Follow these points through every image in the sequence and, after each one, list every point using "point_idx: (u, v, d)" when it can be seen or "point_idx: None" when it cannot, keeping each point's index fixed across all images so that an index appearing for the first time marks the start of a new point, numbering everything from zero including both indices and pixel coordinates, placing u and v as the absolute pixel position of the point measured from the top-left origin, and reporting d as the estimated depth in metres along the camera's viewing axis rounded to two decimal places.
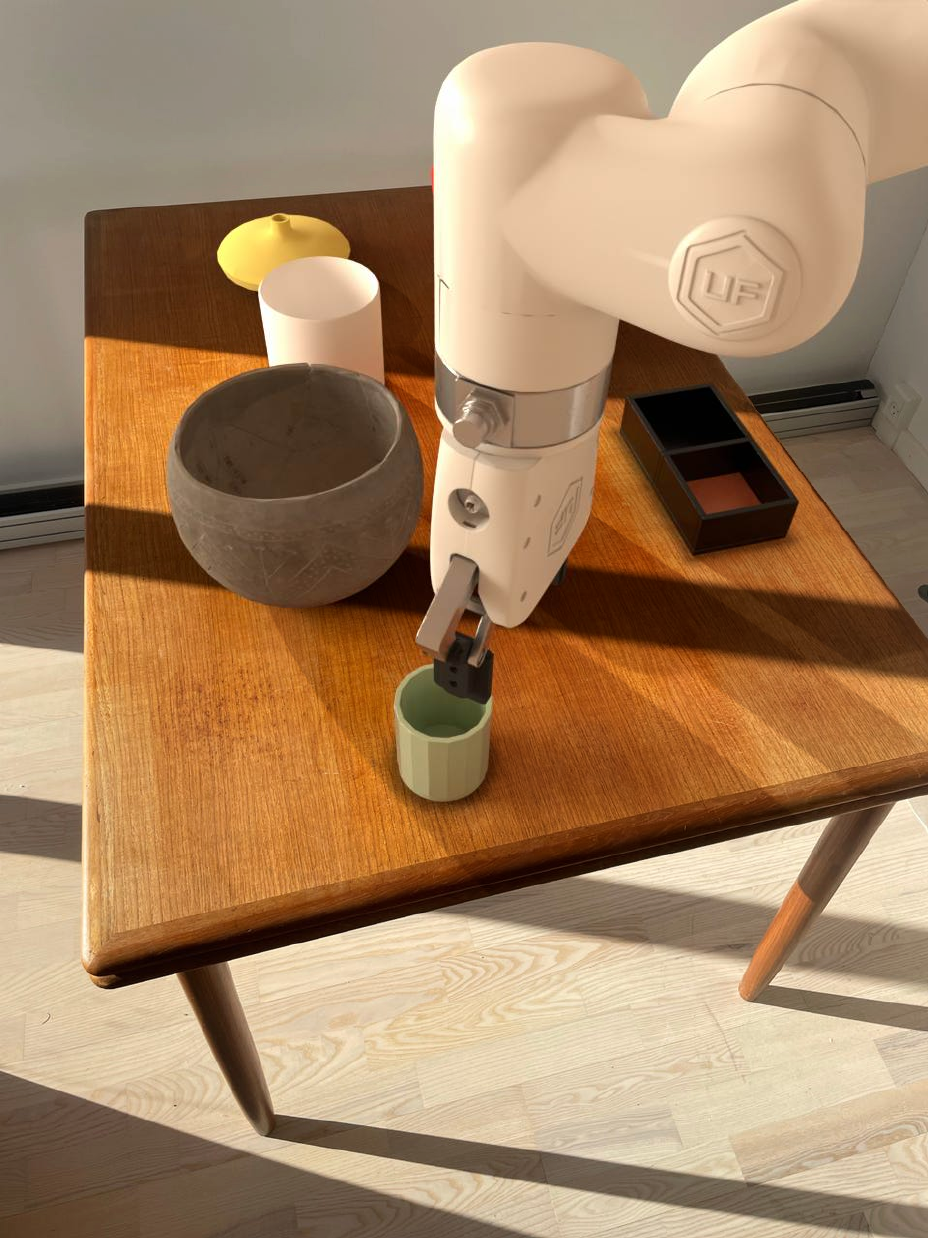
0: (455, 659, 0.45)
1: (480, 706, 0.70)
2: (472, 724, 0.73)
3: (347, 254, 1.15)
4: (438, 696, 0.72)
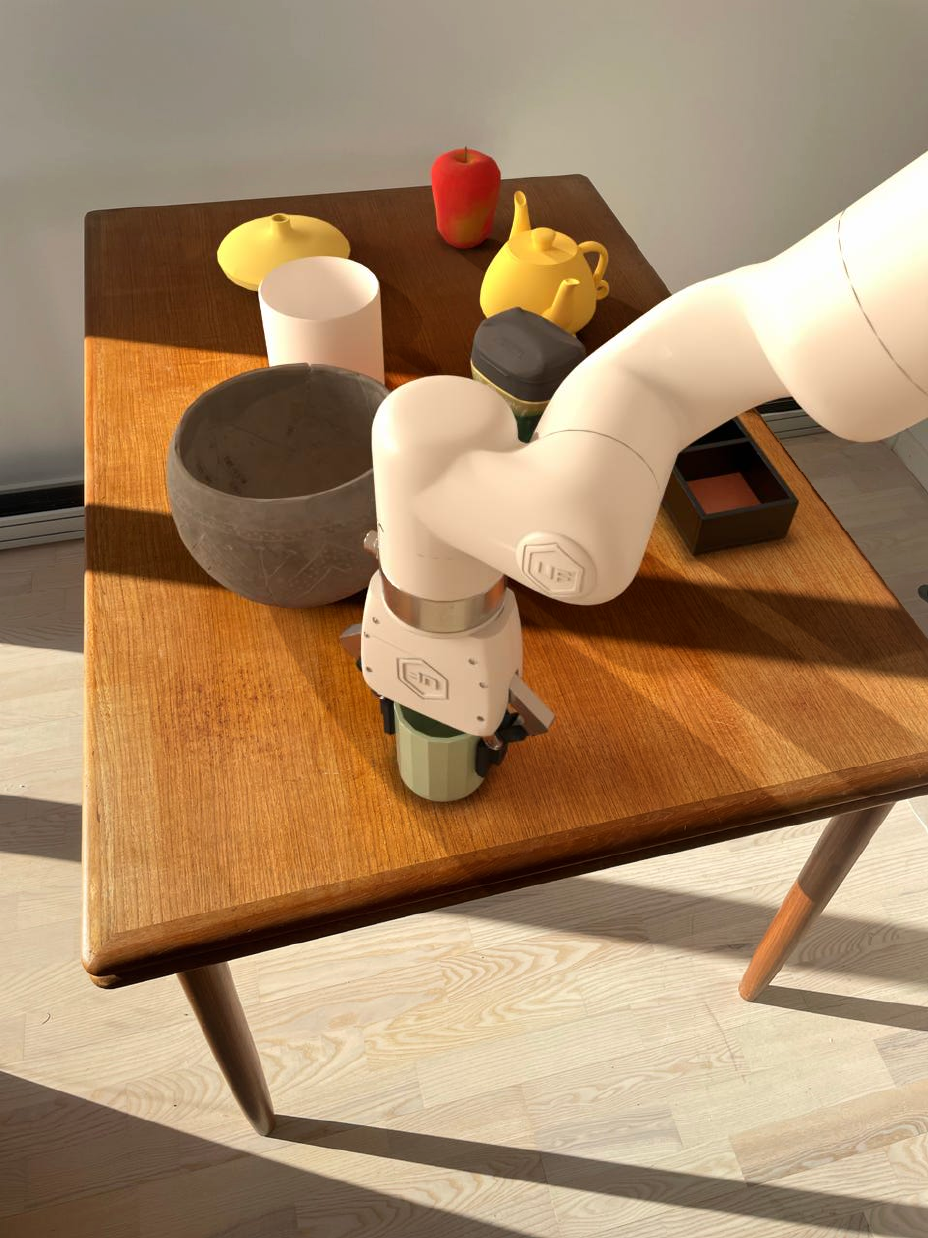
0: (357, 664, 0.68)
1: None
2: None
3: (347, 254, 1.15)
4: None
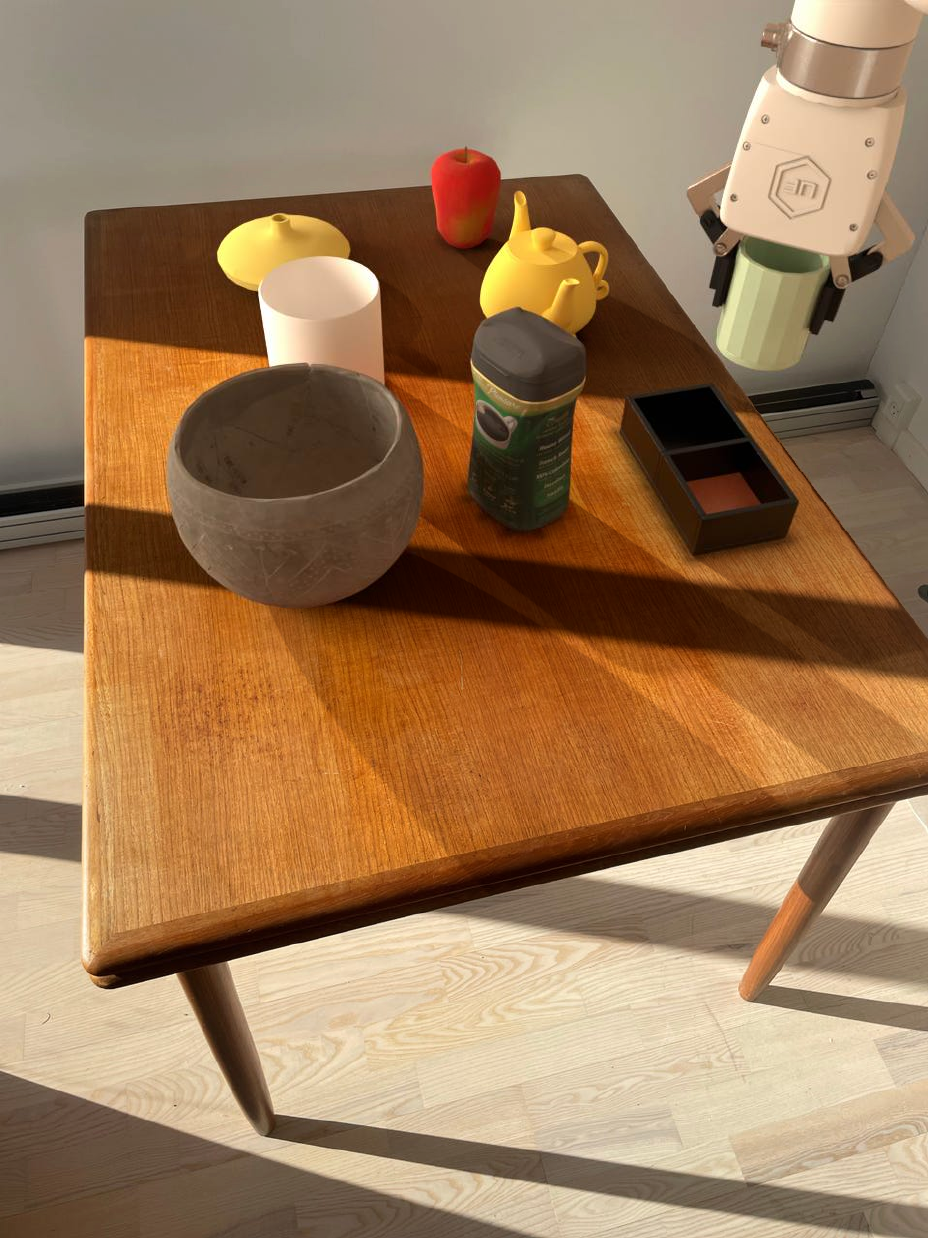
0: (702, 218, 0.71)
1: None
2: None
3: (347, 254, 1.15)
4: None
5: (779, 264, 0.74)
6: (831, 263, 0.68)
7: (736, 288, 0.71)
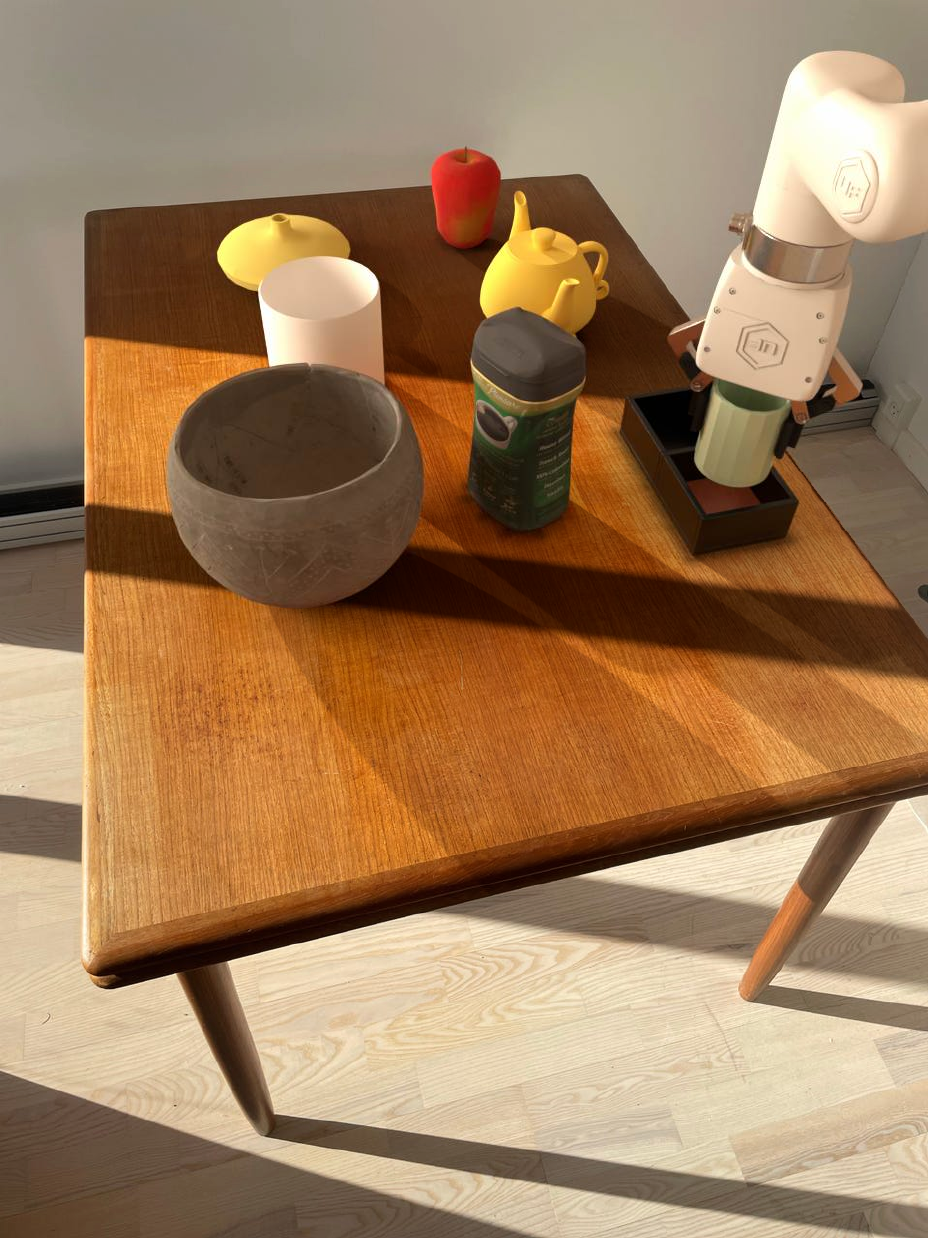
0: (681, 360, 0.81)
1: (773, 404, 0.84)
2: None
3: (347, 254, 1.15)
4: (733, 401, 0.86)
5: (749, 394, 0.85)
6: (791, 403, 0.79)
7: (710, 419, 0.82)
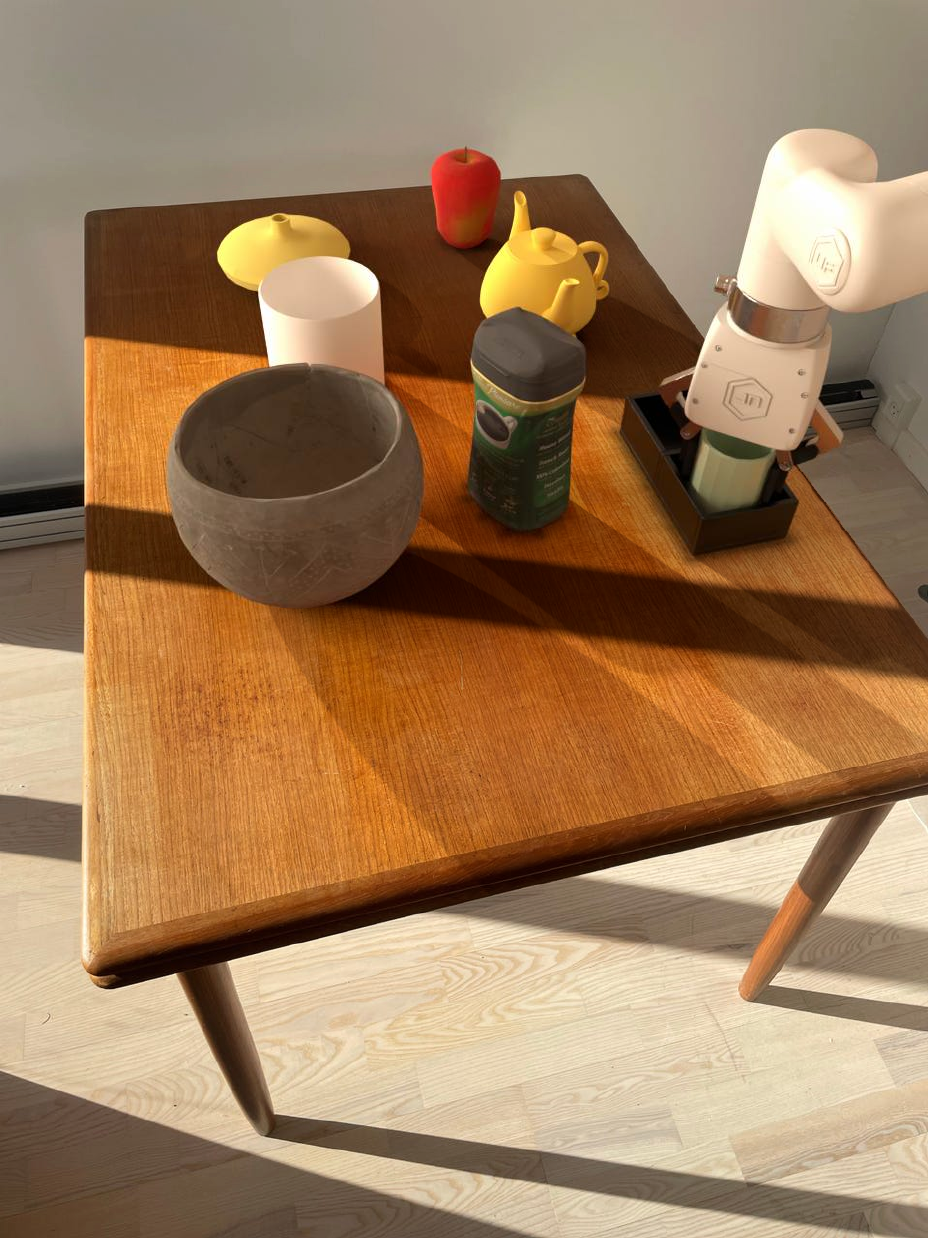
0: (671, 409, 0.85)
1: (760, 450, 0.88)
2: None
3: (347, 254, 1.15)
4: (721, 447, 0.89)
5: (737, 440, 0.89)
6: (776, 452, 0.82)
7: (699, 465, 0.86)
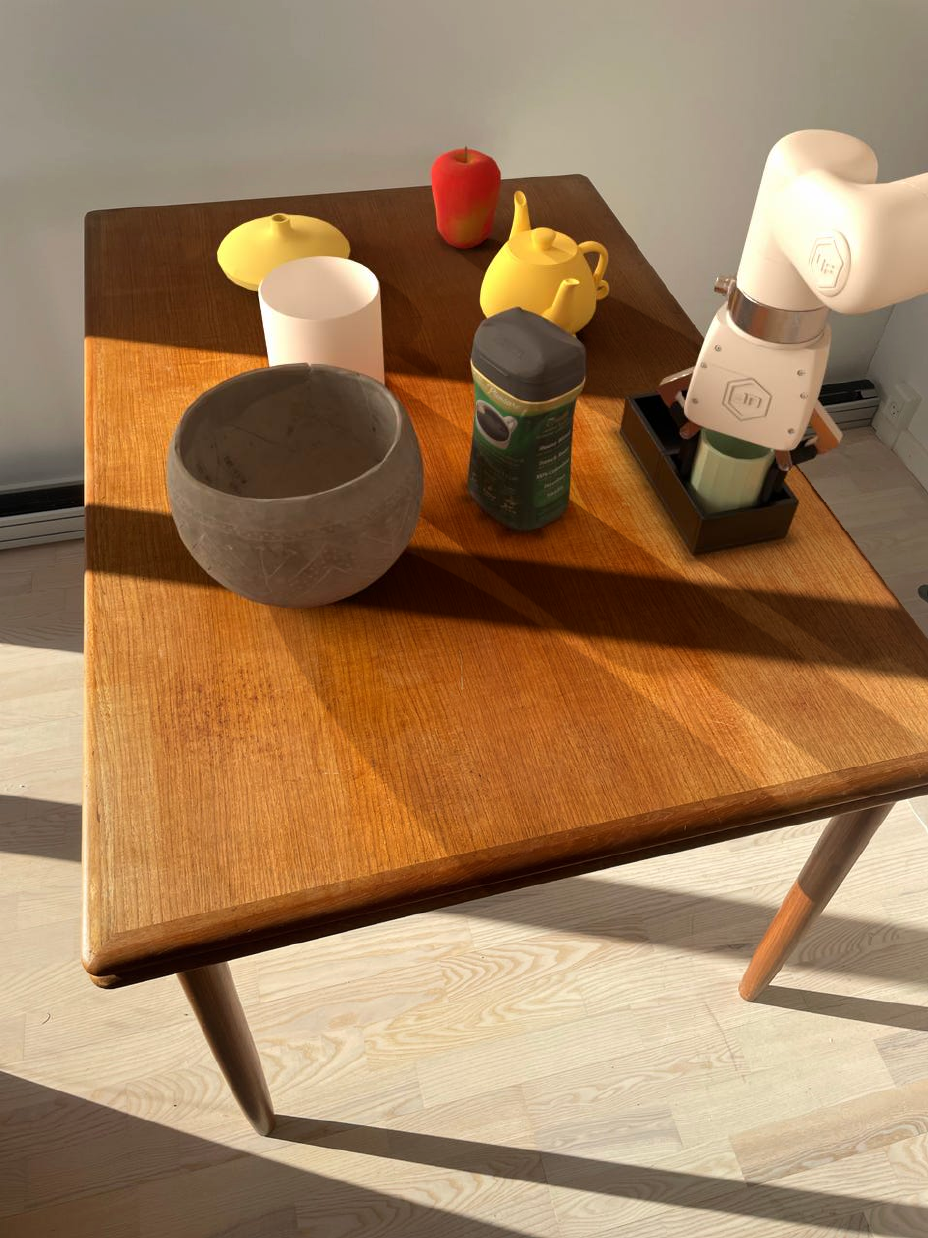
0: (671, 409, 0.85)
1: (759, 449, 0.88)
2: None
3: (347, 254, 1.15)
4: (720, 446, 0.89)
5: (736, 440, 0.89)
6: (775, 452, 0.83)
7: (699, 465, 0.86)
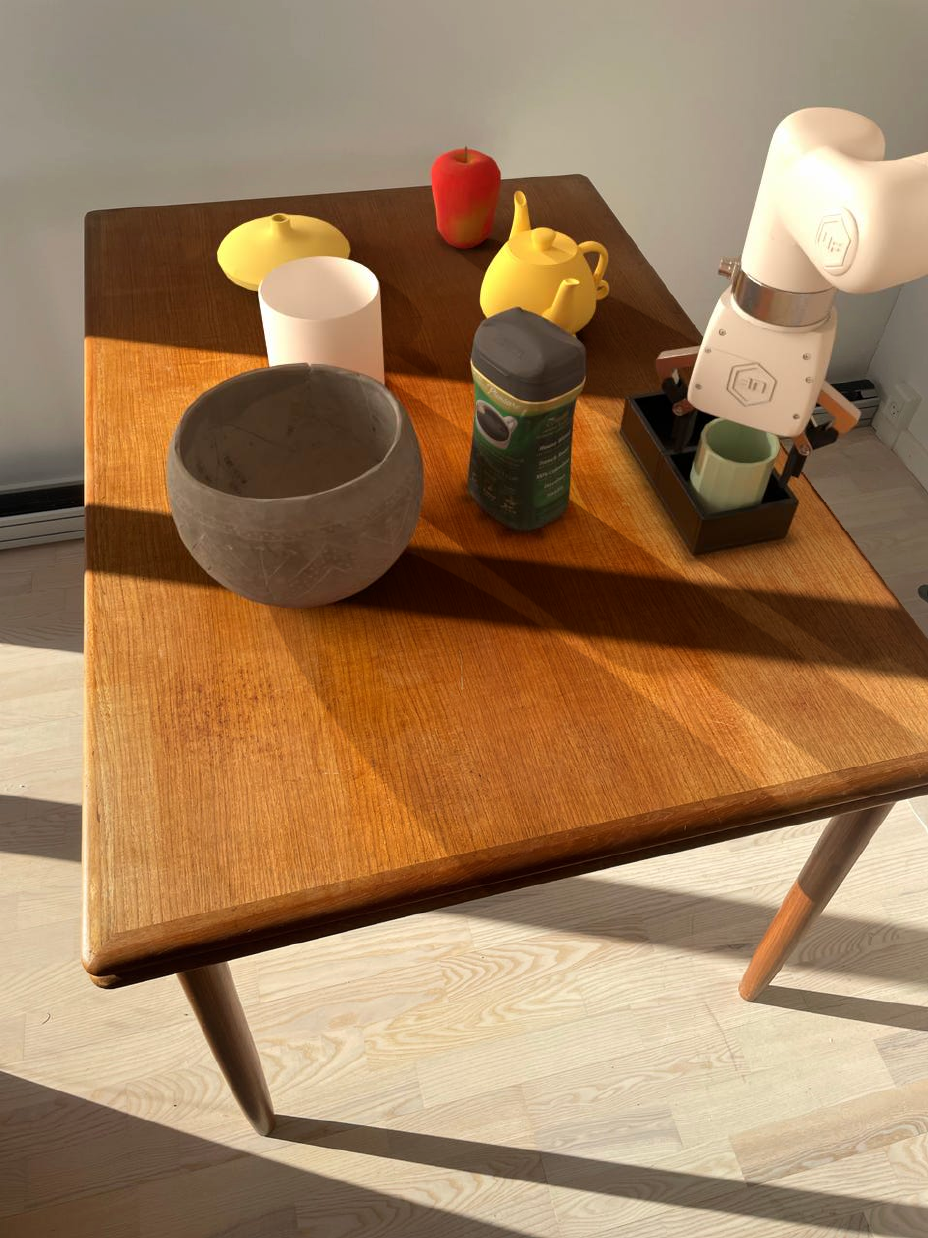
0: (663, 385, 0.84)
1: (759, 453, 0.88)
2: None
3: (347, 254, 1.15)
4: (720, 450, 0.90)
5: (736, 443, 0.89)
6: (792, 437, 0.81)
7: (699, 469, 0.86)
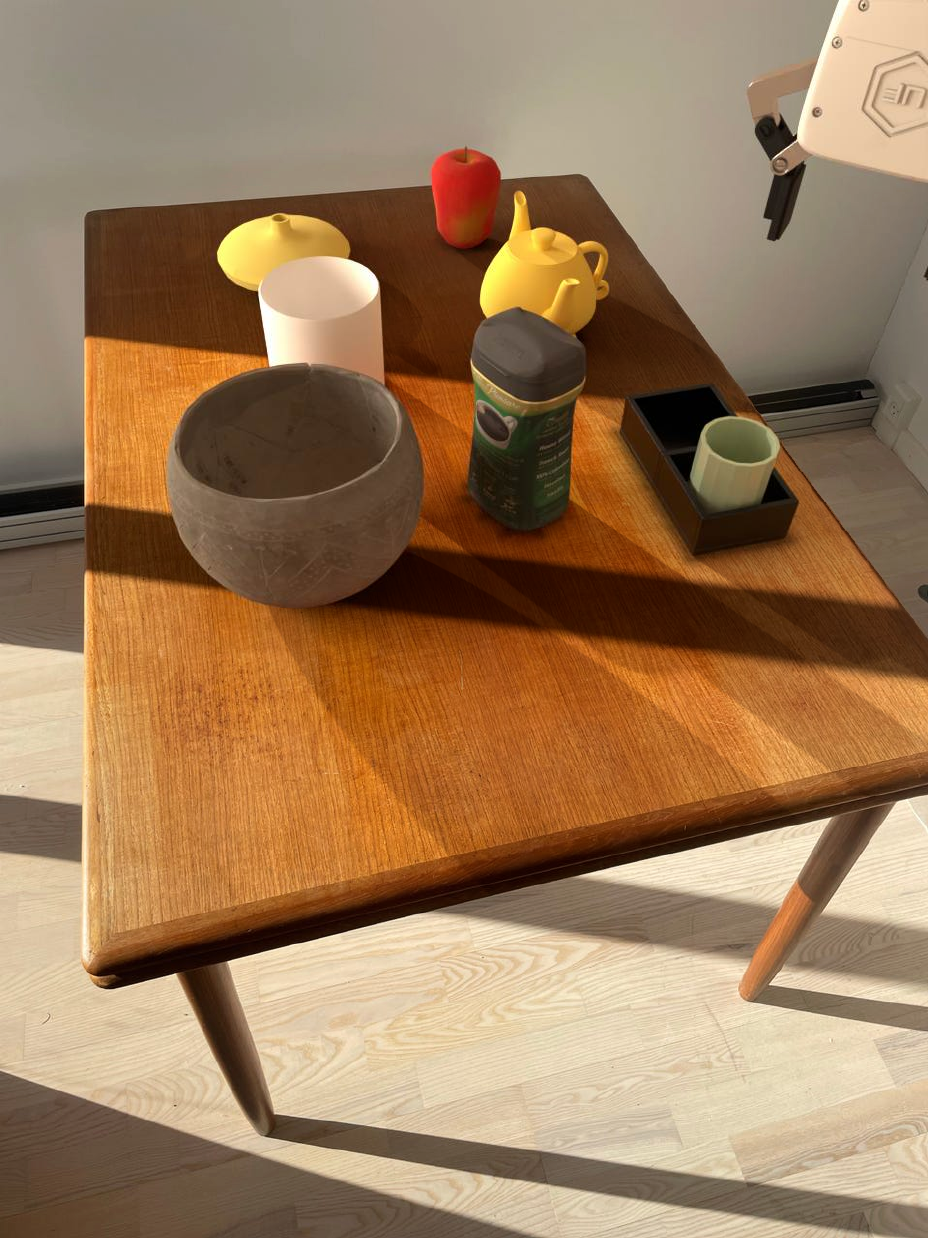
0: (758, 127, 0.57)
1: (759, 453, 0.88)
2: None
3: (347, 254, 1.15)
4: (720, 450, 0.90)
5: (736, 443, 0.89)
6: None
7: (699, 469, 0.86)
